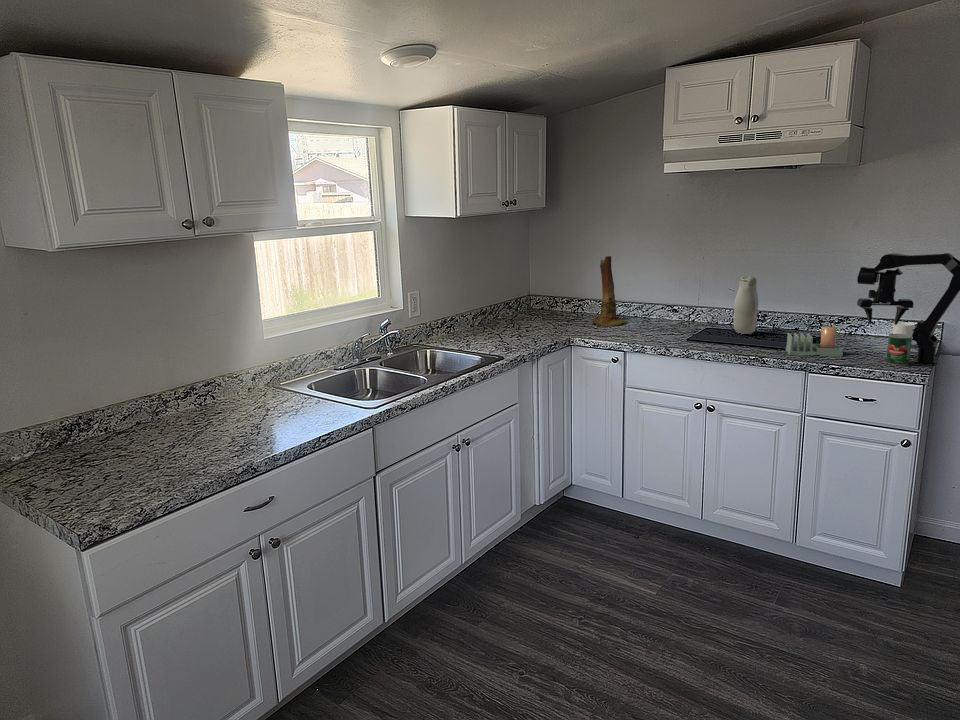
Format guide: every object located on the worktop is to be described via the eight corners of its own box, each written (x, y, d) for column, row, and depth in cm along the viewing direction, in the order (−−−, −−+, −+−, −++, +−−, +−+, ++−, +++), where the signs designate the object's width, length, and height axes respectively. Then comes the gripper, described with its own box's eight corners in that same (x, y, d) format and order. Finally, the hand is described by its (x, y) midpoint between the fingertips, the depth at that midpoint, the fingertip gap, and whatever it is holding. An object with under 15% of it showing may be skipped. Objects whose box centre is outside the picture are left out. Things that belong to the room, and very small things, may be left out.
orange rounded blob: (837, 354, 283) (839, 328, 281) (825, 355, 282) (827, 329, 280) (828, 351, 289) (830, 326, 286) (816, 352, 288) (818, 326, 285)
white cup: (915, 348, 290) (918, 325, 288) (894, 348, 291) (897, 325, 289) (907, 344, 297) (910, 322, 295) (887, 344, 299) (890, 321, 297)
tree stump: (611, 328, 350) (612, 258, 342) (584, 325, 361) (584, 257, 354) (632, 322, 364) (633, 255, 356) (606, 319, 375) (606, 254, 368)
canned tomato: (905, 361, 270) (908, 333, 267) (911, 366, 262) (915, 338, 260) (882, 360, 272) (885, 333, 269) (888, 365, 264) (891, 337, 262)
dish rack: (842, 356, 280) (844, 338, 278) (789, 355, 285) (791, 337, 283) (836, 351, 289) (838, 333, 287) (785, 350, 294) (787, 332, 292)
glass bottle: (728, 334, 328) (732, 275, 321) (741, 331, 334) (745, 273, 327) (747, 337, 320) (751, 277, 314) (760, 334, 326) (764, 275, 320)
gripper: (906, 283, 278) (901, 321, 281) (855, 282, 282) (851, 320, 286) (916, 286, 267) (911, 326, 271) (863, 286, 272) (859, 325, 275)
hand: (882, 324), depth 276 cm, fingers open, 9 cm apart
